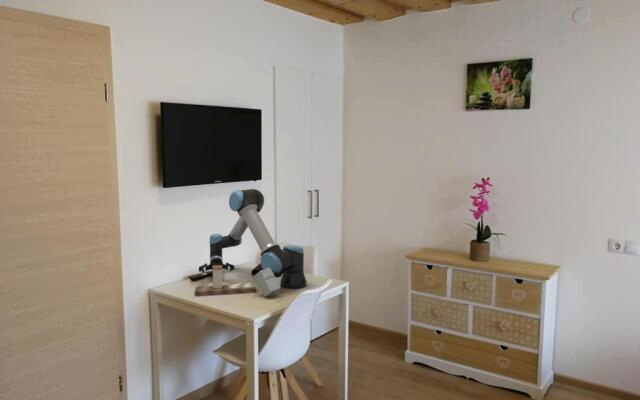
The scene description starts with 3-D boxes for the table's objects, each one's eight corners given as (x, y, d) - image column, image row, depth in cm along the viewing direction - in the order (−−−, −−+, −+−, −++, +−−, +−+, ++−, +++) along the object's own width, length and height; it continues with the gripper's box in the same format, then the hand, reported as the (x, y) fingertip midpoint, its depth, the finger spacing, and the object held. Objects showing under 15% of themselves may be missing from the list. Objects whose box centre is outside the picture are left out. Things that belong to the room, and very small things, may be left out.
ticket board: (255, 287, 289) (255, 282, 289) (256, 292, 279) (256, 287, 279) (195, 291, 282) (195, 285, 282) (195, 296, 272) (194, 290, 272)
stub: (222, 286, 281) (222, 265, 280) (222, 287, 279) (222, 266, 277) (213, 287, 280) (212, 265, 279) (213, 288, 278) (212, 266, 276)
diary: (251, 277, 314) (250, 269, 314) (262, 267, 339) (262, 260, 338) (280, 278, 311) (280, 270, 311) (289, 268, 336) (289, 260, 335)
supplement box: (270, 291, 267) (259, 270, 270) (263, 297, 272) (253, 276, 275) (281, 287, 272) (270, 266, 275) (274, 292, 277) (264, 272, 280)
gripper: (237, 268, 311) (239, 277, 290) (195, 270, 306) (194, 279, 285) (237, 256, 310) (239, 264, 290) (195, 257, 305) (194, 266, 284)
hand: (217, 271), depth 287 cm, fingers open, 13 cm apart
